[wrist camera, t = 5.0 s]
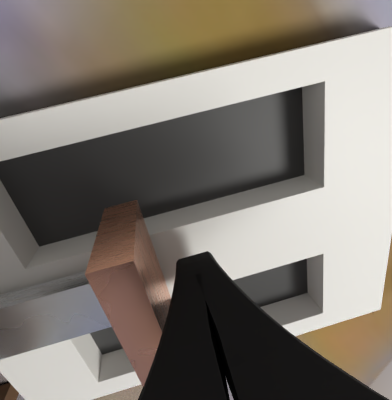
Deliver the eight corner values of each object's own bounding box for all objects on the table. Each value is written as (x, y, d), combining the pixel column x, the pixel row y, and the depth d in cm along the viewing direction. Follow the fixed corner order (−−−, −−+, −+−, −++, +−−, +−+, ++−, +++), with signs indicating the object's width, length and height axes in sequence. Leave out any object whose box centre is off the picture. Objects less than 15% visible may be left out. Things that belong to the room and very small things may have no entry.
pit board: (358, 287, 14) (380, 309, 13) (50, 381, 13) (39, 415, 12) (381, 27, 9) (422, 19, 8) (-132, 149, 8) (-187, 164, 7)
